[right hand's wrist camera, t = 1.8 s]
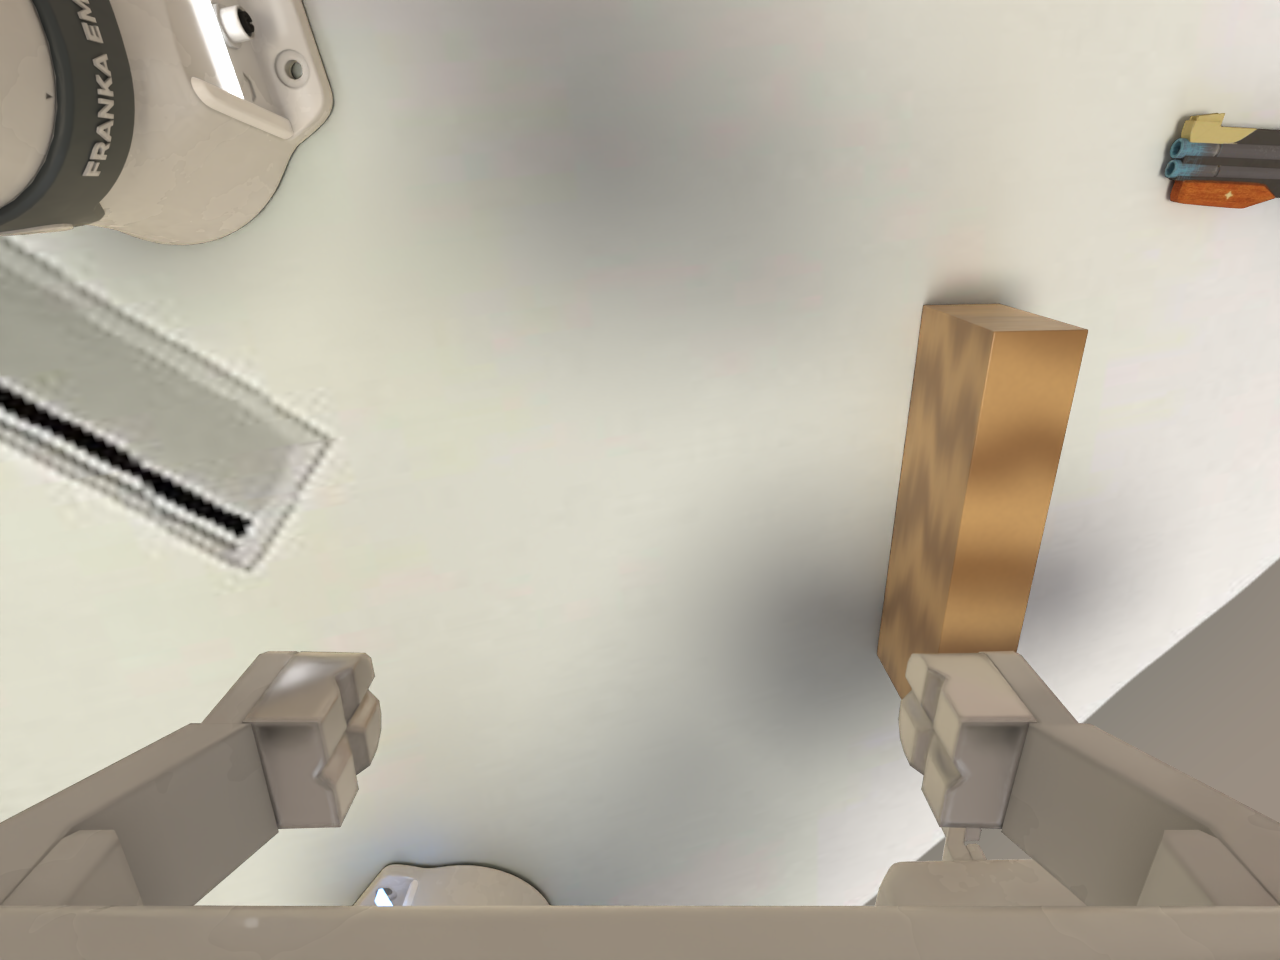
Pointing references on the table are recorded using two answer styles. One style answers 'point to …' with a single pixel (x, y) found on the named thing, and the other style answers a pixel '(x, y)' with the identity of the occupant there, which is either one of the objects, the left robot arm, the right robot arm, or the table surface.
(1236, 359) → the table surface
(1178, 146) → the toy gun
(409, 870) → the left robot arm
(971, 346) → the bar
